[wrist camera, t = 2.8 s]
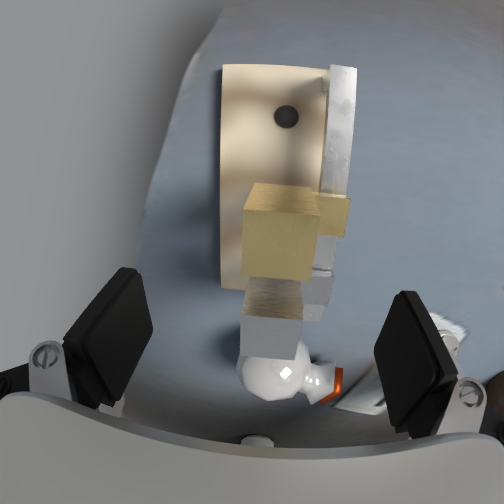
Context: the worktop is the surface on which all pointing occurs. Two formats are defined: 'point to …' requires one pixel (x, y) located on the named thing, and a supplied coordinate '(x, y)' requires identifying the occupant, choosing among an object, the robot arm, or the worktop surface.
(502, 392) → the plant pot
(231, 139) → the hole plate
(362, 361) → the worktop surface
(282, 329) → the trammel frame
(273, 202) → the block
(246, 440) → the can
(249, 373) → the potion bottle
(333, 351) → the worktop surface
